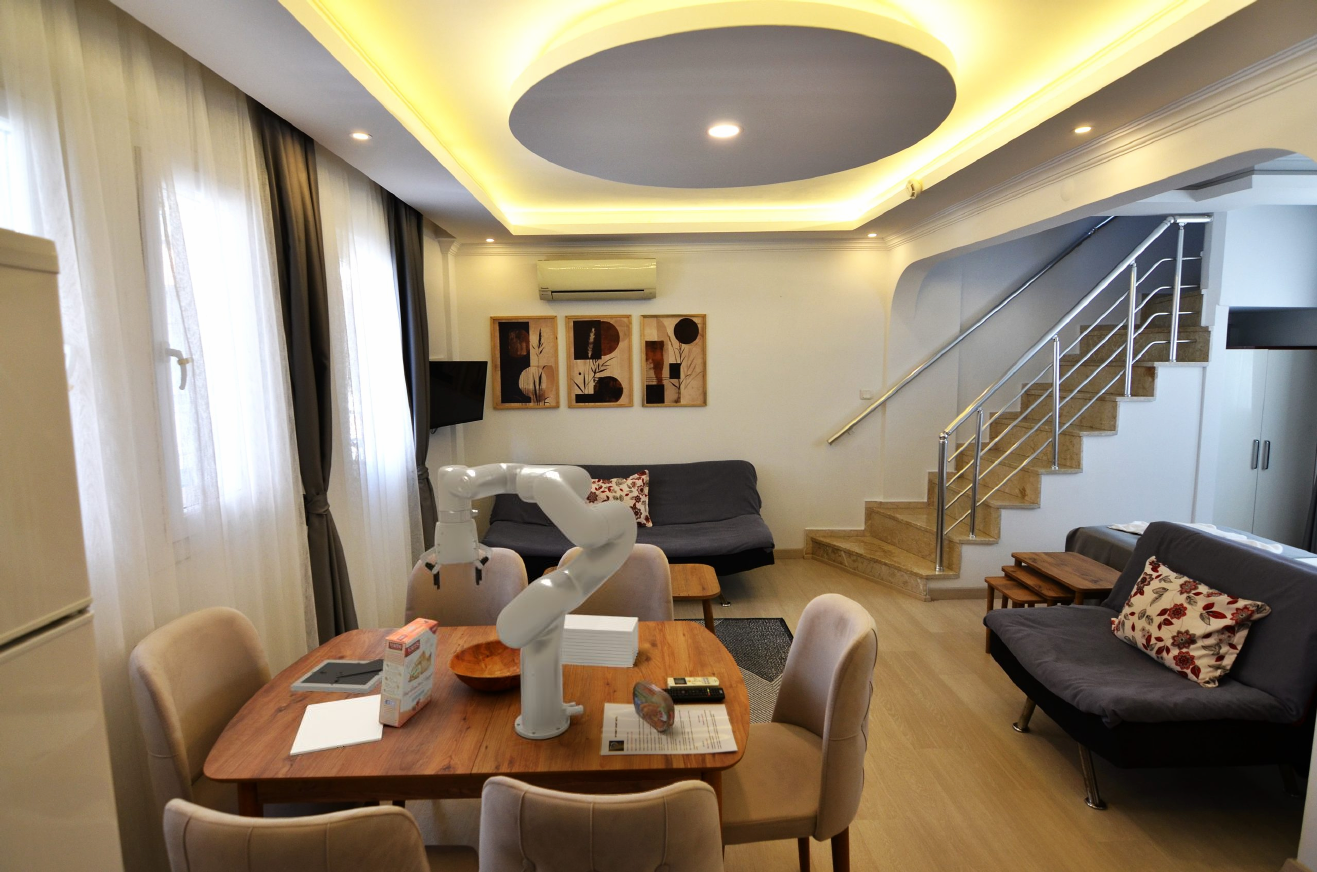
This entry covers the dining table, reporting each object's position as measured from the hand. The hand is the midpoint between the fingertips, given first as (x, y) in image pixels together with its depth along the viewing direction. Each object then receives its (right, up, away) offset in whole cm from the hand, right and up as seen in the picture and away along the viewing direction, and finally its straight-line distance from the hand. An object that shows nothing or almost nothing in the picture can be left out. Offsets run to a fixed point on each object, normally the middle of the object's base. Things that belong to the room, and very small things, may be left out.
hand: (458, 585), depth 158 cm
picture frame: (-35, -30, +16) cm, 49 cm away
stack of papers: (+27, -28, +30) cm, 49 cm away
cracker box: (-12, -30, -2) cm, 33 cm away
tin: (+48, -31, -6) cm, 57 cm away
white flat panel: (-25, -31, -6) cm, 40 cm away
